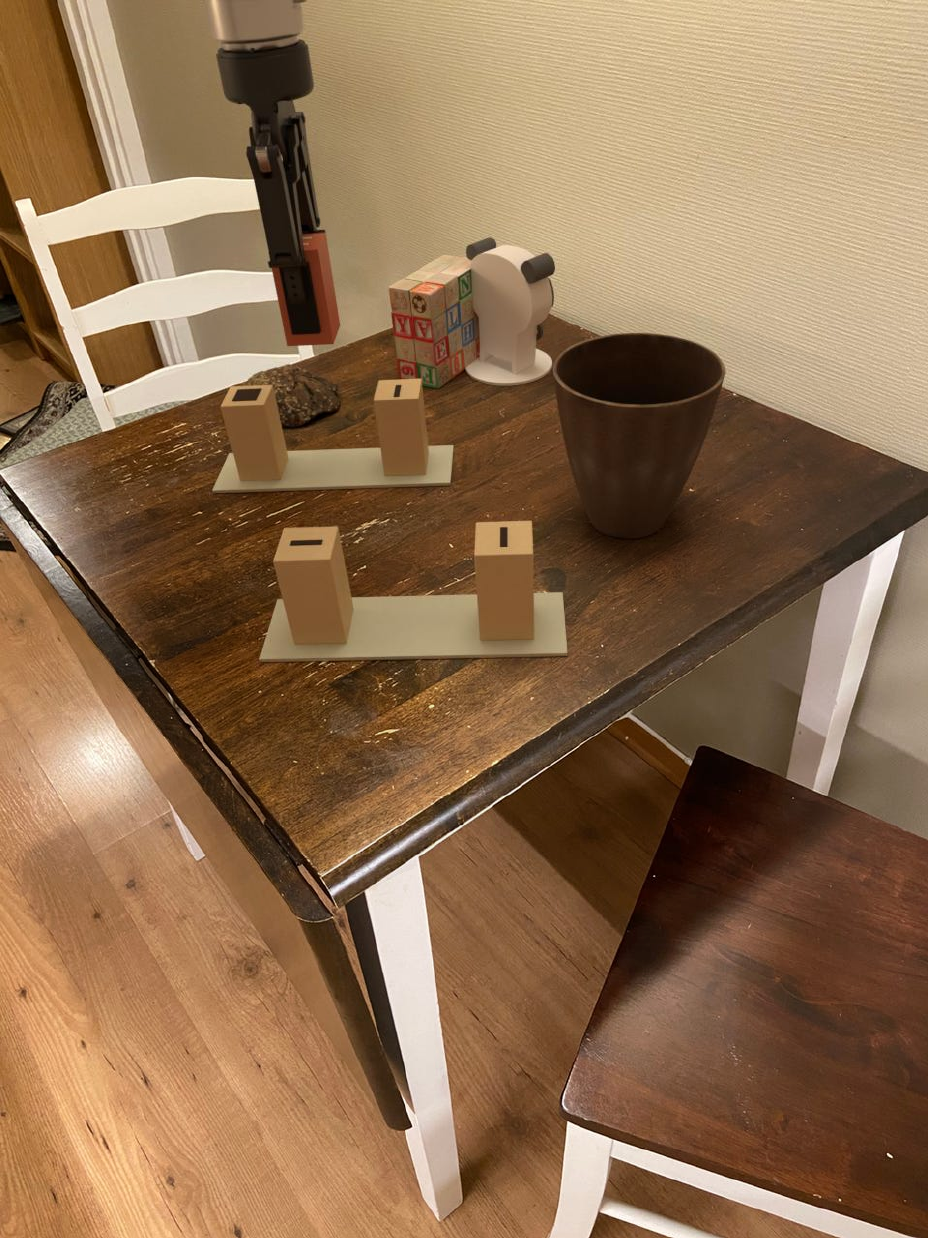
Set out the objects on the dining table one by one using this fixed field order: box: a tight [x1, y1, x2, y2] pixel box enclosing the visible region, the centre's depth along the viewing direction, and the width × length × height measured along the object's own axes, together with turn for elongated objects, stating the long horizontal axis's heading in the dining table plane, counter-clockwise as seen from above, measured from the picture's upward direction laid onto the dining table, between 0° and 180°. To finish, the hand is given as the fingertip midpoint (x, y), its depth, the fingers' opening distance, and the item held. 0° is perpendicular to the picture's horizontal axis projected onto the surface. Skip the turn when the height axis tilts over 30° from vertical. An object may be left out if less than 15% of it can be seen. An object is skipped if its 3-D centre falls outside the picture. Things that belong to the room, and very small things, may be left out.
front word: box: [258, 520, 569, 663], centre depth 74 cm, size 26×8×10 cm, turn 88°
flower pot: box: [552, 332, 727, 540], centre depth 83 cm, size 15×15×16 cm
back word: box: [211, 378, 455, 494], centre depth 95 cm, size 26×8×10 cm, turn 88°
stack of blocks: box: [388, 254, 480, 390], centre depth 115 cm, size 21×6×12 cm, turn 147°
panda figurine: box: [465, 236, 556, 387], centre depth 111 cm, size 12×11×15 cm
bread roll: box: [239, 363, 341, 428], centre depth 109 cm, size 13×12×5 cm
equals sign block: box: [268, 232, 341, 347], centre depth 85 cm, size 5×5×9 cm
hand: (311, 321), depth 87 cm, fingers closed on equals sign block, 5 cm apart
